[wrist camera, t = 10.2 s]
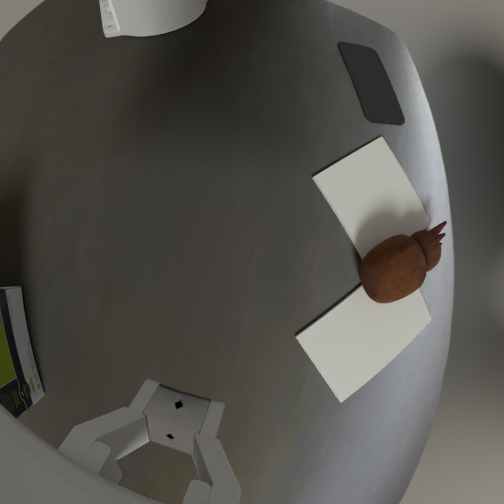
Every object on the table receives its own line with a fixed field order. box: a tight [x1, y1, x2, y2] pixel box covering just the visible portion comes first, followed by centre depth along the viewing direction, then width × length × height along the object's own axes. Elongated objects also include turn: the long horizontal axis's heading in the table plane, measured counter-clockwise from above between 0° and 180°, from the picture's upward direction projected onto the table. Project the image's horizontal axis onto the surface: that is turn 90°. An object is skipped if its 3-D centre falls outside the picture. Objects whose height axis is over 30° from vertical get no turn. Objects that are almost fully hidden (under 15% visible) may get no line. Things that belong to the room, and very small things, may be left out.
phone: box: [338, 42, 405, 125], centre depth 32 cm, size 7×1×15 cm
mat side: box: [312, 137, 431, 260], centre depth 31 cm, size 14×12×1 cm
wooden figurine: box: [359, 221, 447, 304], centre depth 28 cm, size 7×6×15 cm
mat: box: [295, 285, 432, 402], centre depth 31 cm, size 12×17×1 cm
